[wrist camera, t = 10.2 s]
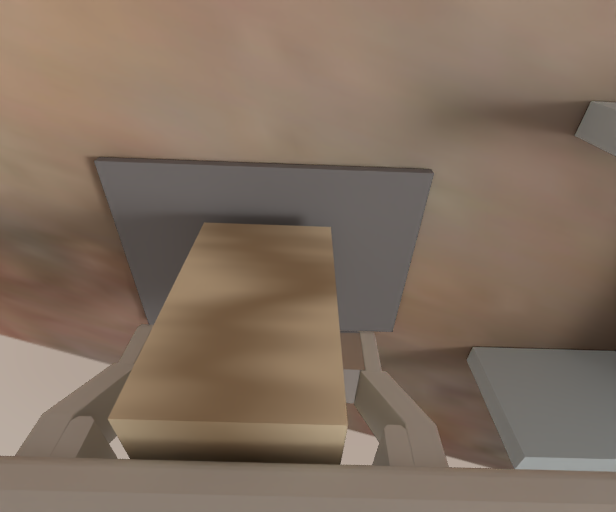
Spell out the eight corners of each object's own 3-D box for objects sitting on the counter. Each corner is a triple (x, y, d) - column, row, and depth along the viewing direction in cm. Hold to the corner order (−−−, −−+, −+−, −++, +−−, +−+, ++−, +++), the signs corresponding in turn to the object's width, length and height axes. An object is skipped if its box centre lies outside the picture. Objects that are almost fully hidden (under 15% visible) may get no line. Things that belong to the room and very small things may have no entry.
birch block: (330, 226, 14) (348, 425, 7) (323, 316, 17) (330, 514, 10) (204, 222, 14) (107, 418, 7) (218, 312, 17) (159, 510, 10)
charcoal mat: (431, 169, 14) (434, 173, 13) (391, 326, 19) (392, 332, 19) (98, 157, 14) (93, 160, 13) (151, 319, 19) (149, 324, 18)
